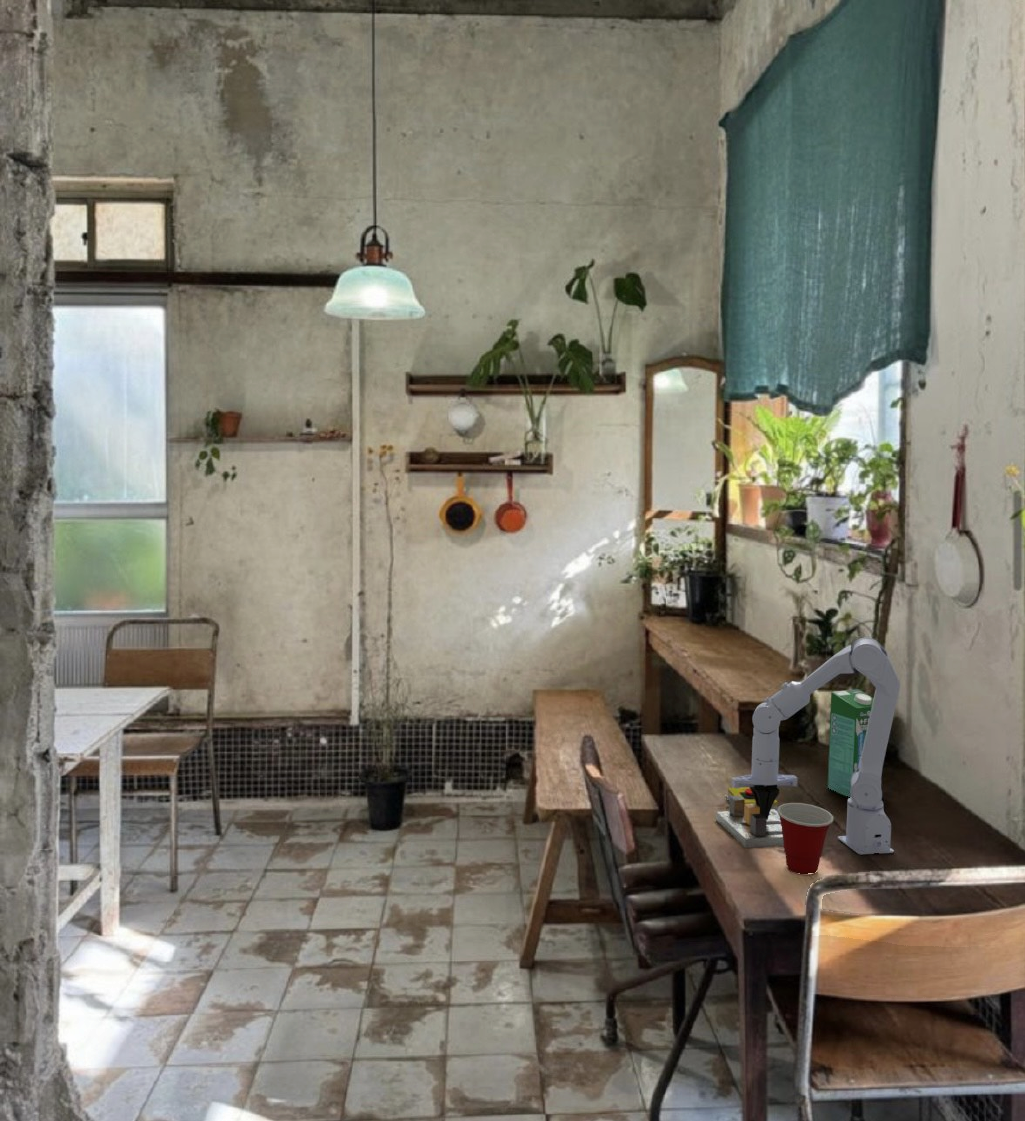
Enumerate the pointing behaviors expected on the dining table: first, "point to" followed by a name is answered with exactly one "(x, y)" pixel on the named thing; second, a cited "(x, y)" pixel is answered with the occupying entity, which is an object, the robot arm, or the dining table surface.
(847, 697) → the milk carton
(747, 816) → the breaker
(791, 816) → the plastic cup
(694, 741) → the dining table surface
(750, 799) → the emergency button
